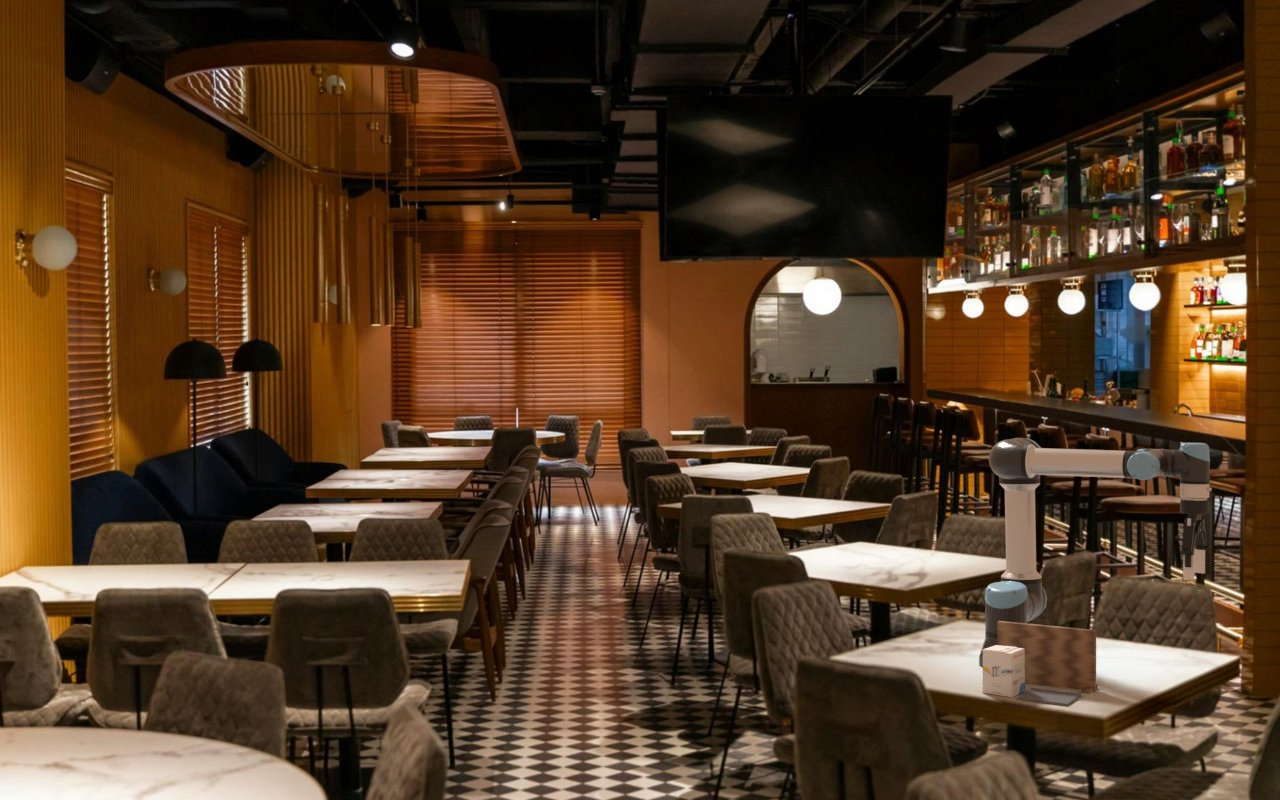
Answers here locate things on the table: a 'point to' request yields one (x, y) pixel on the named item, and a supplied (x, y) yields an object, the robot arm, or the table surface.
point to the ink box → (1003, 670)
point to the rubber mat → (1049, 696)
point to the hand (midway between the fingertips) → (1194, 576)
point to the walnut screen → (1054, 654)
